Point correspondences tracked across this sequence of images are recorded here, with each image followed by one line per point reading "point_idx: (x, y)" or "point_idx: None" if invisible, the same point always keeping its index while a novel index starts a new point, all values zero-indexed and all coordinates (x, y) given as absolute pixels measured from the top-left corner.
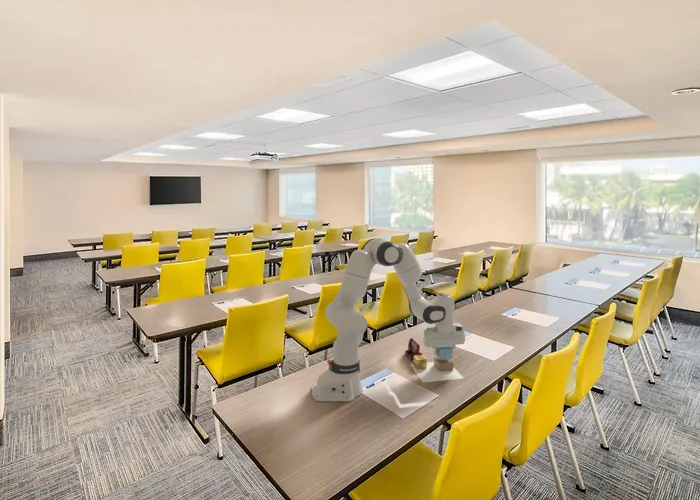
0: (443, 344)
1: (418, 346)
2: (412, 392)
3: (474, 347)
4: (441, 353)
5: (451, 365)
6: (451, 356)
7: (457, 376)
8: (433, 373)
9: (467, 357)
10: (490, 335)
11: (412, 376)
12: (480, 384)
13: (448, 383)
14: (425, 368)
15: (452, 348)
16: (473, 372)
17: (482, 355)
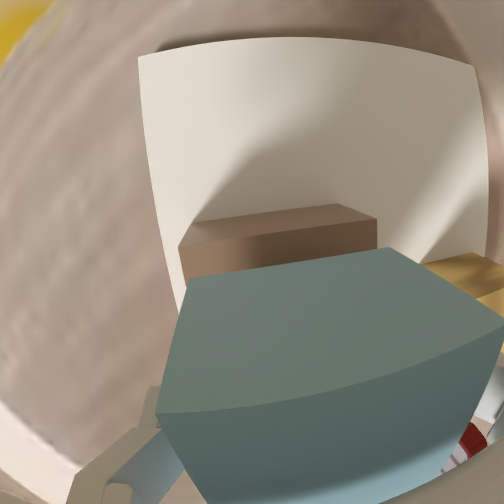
0: (477, 494)
1: (475, 444)
2: (496, 30)
3: (52, 471)
4: (438, 291)
5: (208, 231)
6: (197, 295)
7: (187, 88)
8: (397, 173)
9: (67, 419)
10: (25, 494)
11: (492, 189)
12: (53, 32)
13: (297, 31)
14: (426, 264)
15: (146, 456)
16: (33, 219)
17: (8, 413)
